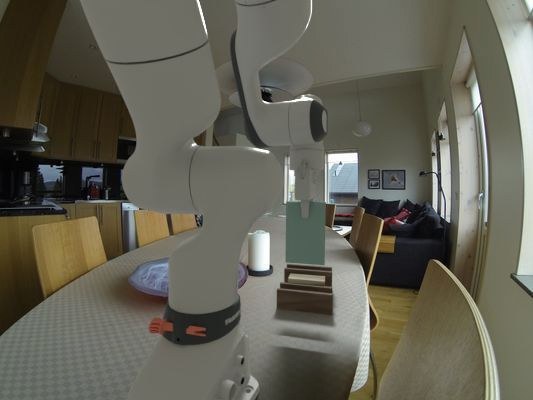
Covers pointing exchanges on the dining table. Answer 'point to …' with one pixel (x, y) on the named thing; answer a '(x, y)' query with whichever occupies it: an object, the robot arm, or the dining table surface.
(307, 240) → the panel
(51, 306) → the dining table surface
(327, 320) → the dining table surface
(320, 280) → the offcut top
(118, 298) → the dining table surface
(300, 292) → the rack
